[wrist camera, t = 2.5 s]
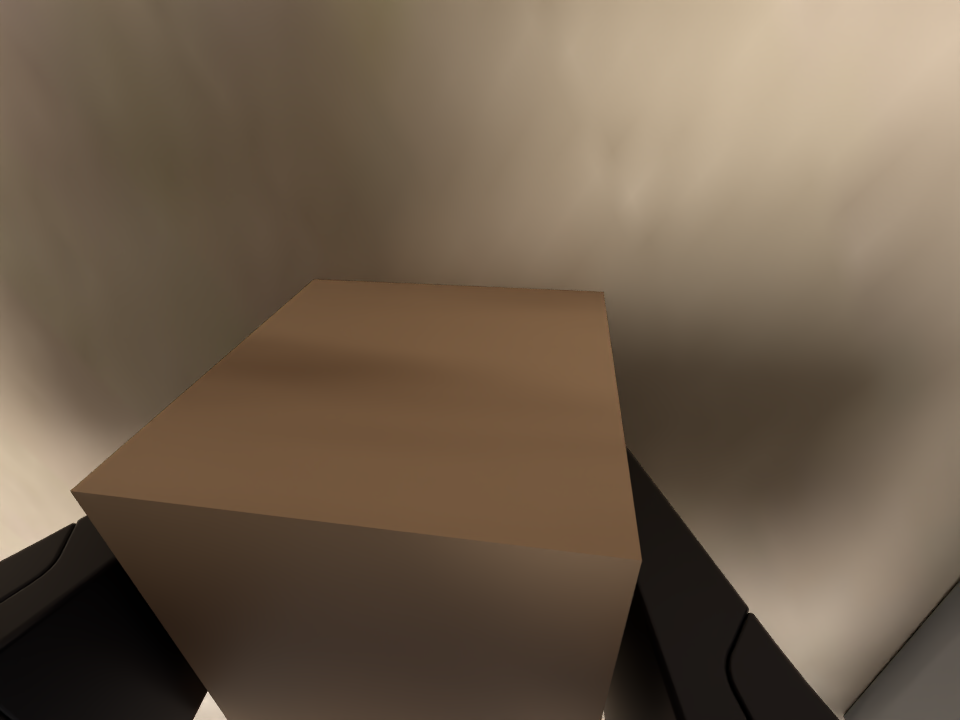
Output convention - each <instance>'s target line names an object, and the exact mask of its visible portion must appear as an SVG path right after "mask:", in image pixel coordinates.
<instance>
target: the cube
mask: <svg viewBox="0 0 960 720" xmlns="http://www.w3.org/2000/svg"><path fill="white" fill-rule="evenodd" d="M71 493H72V494H73V496H74V497H75V499H76V500H77V501H78V503H79V504H80V506H81V507H82V509H83V510H84V512H85V513H86V515H87V516H88V517H89V519H90V520H91V522H92V523H93V525H94V526H95V528H96V529H97V531H98V532H99V533H100V535H101V536H102V538H103V539H104V541H105V542H106V544H107V545H108V547H109V548H110V549H111V551H112V552H113V554H114V555H115V557H116V558H117V560H118V561H119V563H120V564H121V566H122V567H123V568H124V570H125V571H126V573H127V574H128V576H129V577H130V579H131V580H132V582H133V583H134V584H135V586H136V587H137V589H138V590H139V592H140V593H141V595H142V596H143V598H144V599H145V600H146V602H147V603H148V605H149V606H150V608H151V609H152V611H153V612H154V614H155V615H156V616H157V618H158V619H159V621H160V622H161V624H162V625H163V627H164V628H165V630H166V631H167V632H168V634H169V635H170V637H171V638H172V640H173V641H174V643H175V644H176V646H177V647H178V648H179V650H180V651H181V653H182V654H183V656H184V657H185V659H186V660H187V662H188V663H189V664H190V666H191V667H192V669H193V670H194V672H195V673H196V675H197V676H198V678H199V679H200V680H201V682H202V683H203V685H204V686H205V688H206V689H207V691H208V692H209V694H210V695H211V696H212V698H213V699H214V701H215V702H216V704H217V705H218V707H219V708H220V710H221V711H222V712H223V714H224V715H225V717H226V718H227V720H601V719H602V715H603V711H604V707H605V703H606V699H607V695H608V691H609V687H610V683H611V679H612V676H613V672H614V668H615V664H616V660H617V656H618V652H619V648H620V644H621V640H622V637H623V633H624V629H625V625H626V621H627V617H628V613H629V609H630V605H631V601H632V598H633V594H634V590H635V586H636V582H637V578H638V574H639V570H640V566H641V562H642V558H641V551H640V544H639V537H638V530H637V523H636V516H635V509H634V502H633V495H632V488H631V481H630V474H629V467H628V460H627V453H626V446H625V439H624V432H623V425H622V418H621V411H620V404H619V397H618V390H617V383H616V376H615V369H614V362H613V355H612V348H611V341H610V334H609V327H608V320H607V313H606V306H605V299H604V292H595V291H573V290H550V289H527V288H504V287H481V286H458V285H435V284H412V283H389V282H366V281H343V280H320V279H314V280H313V281H311V282H310V283H309V284H308V285H307V286H306V287H305V288H303V289H302V290H301V291H300V292H299V293H298V294H296V295H295V296H294V297H293V298H292V299H291V300H290V301H288V302H287V303H286V304H285V305H284V306H283V307H282V308H280V309H279V310H278V311H277V312H276V313H275V314H273V315H272V316H271V317H270V318H269V319H268V320H267V321H265V322H264V323H263V324H262V325H261V326H260V327H258V328H257V329H256V330H255V331H254V332H253V333H252V334H250V335H249V336H248V337H247V338H246V339H245V340H244V341H242V342H241V343H240V344H239V345H238V346H237V347H235V348H234V349H233V350H232V351H231V352H230V353H229V354H227V355H226V356H225V357H224V358H223V359H222V360H220V361H219V362H218V363H217V364H216V365H215V366H214V367H212V368H211V369H210V370H209V371H208V372H207V373H206V374H204V375H203V376H202V377H201V378H200V379H199V380H197V381H196V382H195V383H194V384H193V385H192V386H191V387H189V388H188V389H187V390H186V391H185V392H184V393H182V394H181V395H180V396H179V397H178V398H177V399H176V400H174V401H173V402H172V403H171V404H170V405H169V406H167V407H166V408H165V409H164V410H163V411H162V412H161V413H159V414H158V415H157V416H156V417H155V418H154V419H153V420H151V421H150V422H149V423H148V424H147V425H146V426H144V427H143V428H142V429H141V430H140V431H139V432H138V433H136V434H135V435H134V436H133V437H132V438H131V439H129V440H128V441H127V442H126V443H125V444H124V445H123V446H121V447H120V448H119V449H118V450H117V451H116V452H115V453H113V454H112V455H111V456H110V457H109V458H108V459H106V460H105V461H104V462H103V463H102V464H101V465H100V466H98V467H97V468H96V469H95V470H94V471H93V472H91V473H90V474H89V475H88V476H87V477H86V478H85V479H83V480H82V481H81V482H80V483H79V484H78V485H77V486H75V487H74V488H73V489H72V490H71Z"/></svg>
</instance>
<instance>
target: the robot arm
mask: <svg viewBox="0 0 960 720" xmlns="http://www.w3.org/2000/svg"><path fill="white" fill-rule="evenodd" d="M625 446H626V445H625ZM626 453H627V460H628V467H629V474H630V481H631V488H632V495H633V502H634V509H635V516H636V523H637V530H638V537H639V544H640V551H641V558H642V562H641V566H640V570H639V574H638V578H637V582H636V586H635V590H634V594H633V598H632V601H631V605H630V609H629V613H628V617H627V621H626V625H625V629H624V633H623V637H622V640H621V644H620V648H619V652H618V656H617V660H616V664H615V668H614V672H613V676H612V679H611V683H610V687H609V691H608V695H607V699H606V703H605V707H604V715H605V720H839V719H838V718H837V717H836V716H835V714H834V713H833V712H832V711H831V710H830V709H829V707H828V706H827V705H826V704H825V703H824V702H823V700H822V699H821V698H820V697H819V696H818V695H817V693H816V692H815V691H814V690H813V689H812V688H811V686H810V685H809V684H808V683H807V682H806V680H805V679H804V678H803V677H802V675H801V674H800V673H799V672H798V670H797V669H796V668H795V667H794V665H793V664H792V663H791V662H790V660H789V659H788V658H787V657H786V655H785V654H784V653H783V651H782V650H781V649H780V648H779V646H778V645H777V644H776V643H775V641H774V640H773V639H772V638H771V636H770V635H769V634H768V632H767V631H766V630H765V628H764V627H763V626H762V624H761V623H760V622H759V620H758V619H757V618H756V616H755V615H754V614H753V613H748V611H749V608H748V606H747V605H746V603H745V602H744V601H743V600H742V598H741V597H740V596H739V594H738V593H737V592H736V590H735V589H734V588H733V586H732V585H731V584H730V582H729V581H728V580H727V578H726V577H725V576H724V574H723V573H722V572H721V571H720V569H719V568H718V567H717V565H716V564H715V563H714V561H713V560H712V559H711V557H710V556H709V555H708V553H707V552H706V551H705V549H704V548H703V547H702V545H701V544H700V543H699V541H698V540H697V539H696V538H695V536H694V535H693V534H692V532H691V531H690V530H689V528H688V527H687V526H686V524H685V523H684V522H683V520H682V519H681V518H680V516H679V515H678V514H677V512H676V511H675V510H674V508H673V507H672V506H671V505H670V503H669V502H668V501H667V499H666V498H665V497H664V495H663V494H662V493H661V491H660V490H659V489H658V487H657V486H656V485H655V483H654V482H653V481H652V479H651V478H650V477H649V476H648V474H647V473H646V472H645V470H644V469H643V468H642V466H641V465H640V464H639V462H638V461H637V460H636V458H635V457H634V456H633V454H632V453H631V452H630V450H629V449H628V448H627V446H626ZM747 613H748V614H747ZM206 693H207V689H206V688H205V686H204V685H203V683H202V682H201V680H200V679H199V678H198V676H197V675H196V673H195V672H194V670H193V669H192V667H191V666H190V664H189V663H188V662H187V660H186V659H185V657H184V656H183V654H182V653H181V651H180V650H179V648H178V647H177V646H176V644H175V643H174V641H173V640H172V638H171V637H170V635H169V634H168V632H167V631H166V630H165V628H164V627H163V625H162V624H161V622H160V621H159V619H158V618H157V616H156V615H155V614H154V612H153V611H152V609H151V608H150V606H149V605H148V603H147V602H146V600H145V599H144V598H143V596H142V595H141V593H140V592H139V590H138V589H137V587H136V586H135V584H134V583H133V582H132V580H131V579H130V577H129V576H128V574H127V573H126V571H125V570H124V568H123V567H122V566H121V564H120V563H119V561H118V560H117V558H116V557H115V555H114V554H113V552H112V551H111V549H110V548H109V547H108V545H107V544H106V542H105V541H104V539H103V538H102V536H101V535H100V533H99V532H98V531H97V529H96V528H95V526H94V525H93V523H92V522H91V520H90V519H89V517H88V516H85V517H83V518H81V519H79V520H78V521H77V523H76V524H75V523H72V524H70V525H68V526H66V527H64V528H62V529H60V530H59V531H57V532H55V533H53V534H51V535H50V536H48V537H46V538H44V539H42V540H40V541H38V542H36V543H34V544H33V545H31V546H29V547H27V548H25V549H23V550H21V551H19V552H17V553H15V554H14V555H12V556H10V557H8V558H6V559H4V560H2V561H0V720H193V719H194V717H195V715H196V713H197V711H198V709H199V707H200V705H201V703H202V701H203V699H204V697H205V695H206Z"/></svg>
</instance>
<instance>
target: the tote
mask: <svg viewBox="0 0 960 720" xmlns="http://www.w3.org/2000/svg"><path fill="white" fill-rule="evenodd" d="M844 718H845V720H960V581H959V582H958V584H957V585H956V586H955V587H954V588H953V589H952V591H951V592H950V593H949V594H948V595H947V596H946V598H945V599H944V600H943V601H942V602H941V603H940V604H939V606H938V607H937V608H936V609H935V610H934V611H933V613H932V614H931V615H930V616H929V617H928V618H927V620H926V621H925V622H924V623H923V624H922V625H921V627H920V628H919V629H918V630H917V631H916V632H915V634H914V635H913V636H912V637H911V638H910V639H909V641H908V642H907V643H906V644H905V645H904V646H903V648H902V649H901V650H900V651H899V652H898V653H897V655H896V656H895V657H894V658H893V659H892V660H891V662H890V663H889V664H888V665H887V666H886V667H885V669H884V670H883V671H882V672H881V673H880V674H879V676H878V677H877V678H876V679H875V680H874V681H873V683H872V684H871V685H870V686H869V687H868V688H867V690H866V691H865V692H864V693H863V694H862V695H861V696H860V698H859V699H858V700H857V701H856V702H855V703H854V705H853V706H852V707H851V708H850V709H849V710H848V712H847V713H846V714H845V715H844Z"/></svg>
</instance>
